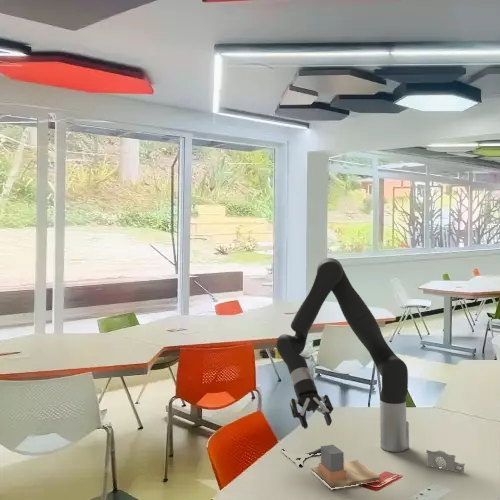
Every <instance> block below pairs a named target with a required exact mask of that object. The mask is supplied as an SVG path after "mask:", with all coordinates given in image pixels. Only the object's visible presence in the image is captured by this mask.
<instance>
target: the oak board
mask: <svg viewBox="0 0 500 500" xmlns="http://www.w3.org/2000/svg"><path fill="white" fill-rule="evenodd" d="M310 469H311V470H312V471H313V472H315V473H316V474H317V475H318V476H319V477H320V478H321V479H322V480H324V481H325V482H326V483H327V484H328V485H329V486H330V487H331V488H335V487H344V486H351V485H356V484H361V483H366V482H371V481H376V480H380V481H381V476H379V475H378V474H377V473H375V472H374V471H373V470H371V469H370V468H368V467H367V466H366V465H365V464H363V463H361V462H360V461H359V460H356V459H355V460H352V461H345V462H344V469H345V470H346V478H344V479H338V480H332V481H330V480H329V479H327V478H326V477H325V476H324V475H323V474H322V473H321V472H320V471H319V466H314V467H310Z"/></svg>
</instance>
